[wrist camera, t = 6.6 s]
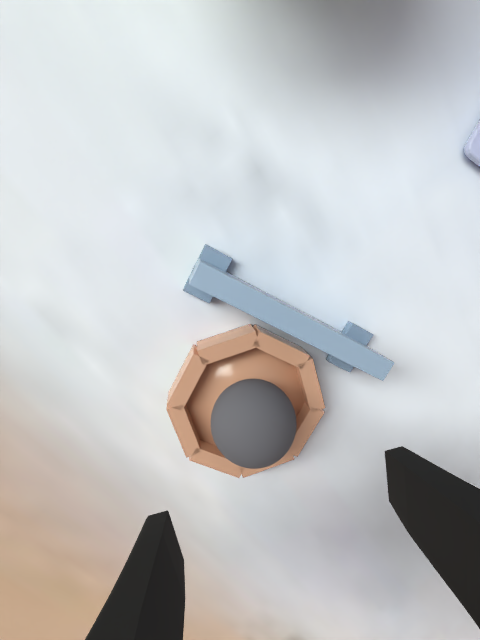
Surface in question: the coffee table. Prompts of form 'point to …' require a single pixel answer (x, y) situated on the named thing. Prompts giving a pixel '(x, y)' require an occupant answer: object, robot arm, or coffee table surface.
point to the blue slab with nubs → (284, 315)
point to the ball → (253, 423)
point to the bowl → (230, 367)
